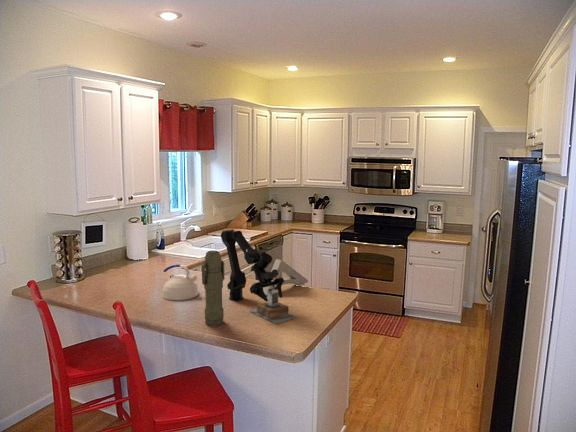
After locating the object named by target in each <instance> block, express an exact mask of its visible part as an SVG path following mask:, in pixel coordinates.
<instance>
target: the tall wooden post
mask: <svg viewBox="0 0 576 432" xmlns="http://www.w3.org/2000/svg"><path fill="white" fill-rule="evenodd" d="M266 297H267V300H268V301H267V302H266V303H267V305H268V307H269V308H271V309H274V308H277V307H278V302H279V295H278V289H275V288H272V289H268V290H267V296H266Z"/></svg>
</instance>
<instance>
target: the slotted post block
mask: <svg viewBox="0 0 576 432" xmlns="http://www.w3.org/2000/svg"><path fill="white" fill-rule="evenodd" d="M289 309H290V308H289V306H288V305H286V304H283V303H280V302H279V301H278V307H277V308H274V309H271V308H269V307H268V305H267V302H266V303H265V302H264V303H261V304H257V307H256V308H254V309H251V310H249V313H250V314H253V315H255V316H257V317H260V318H261V319H264V320H265V321H268V322H270V323H272V324H274V325H279V324H282V323H285V322H289V321H292V320H295V319H297V318H298V316H296V315H294V314H291V313H289Z"/></svg>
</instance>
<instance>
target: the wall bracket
mask: <svg viewBox="0 0 576 432" xmlns="http://www.w3.org/2000/svg"><path fill="white" fill-rule="evenodd" d="M275 269H276V270H277V271H278V275H277V277H274V278H273V280H272V282H273V281H274V280H275V279H276V278H280V277H281V275H282V273H284V274H285V275H287V276H288V277H282V278H283V279H284V282H283V284H282V285H281V287H282V286H284V285H288V284H293V285H295V286H302V285H305V284H308V282H309V280H308V279H307V278H306V277H305V276H303V275H302V274H300V273H299V272H298V271H297V270H296V269H294V268H293V267H292V266H290V265H289V264H287V263H286V262H285V261H284V260H282V259H279V258H276V259H275V261H274V263H273V266H272V268H271V271H270V272H272V270H275ZM272 288H274V287H273V286H268V287H264V288H263V291H264V293H265V295H266V297H267V290H268V289H272Z"/></svg>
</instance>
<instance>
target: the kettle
mask: <svg viewBox="0 0 576 432" xmlns="http://www.w3.org/2000/svg"><path fill="white" fill-rule="evenodd" d="M173 268H182V269H184V270H185V272H186V275H185V274H176V275H170V276H169V279H167V280H166V282H165V283H164V286H163V289H162V298H164V299H165V300H168V301H169V300H170V301H186V299H187V300H190V298H191V299H194V298H196V297H198V295H199V289H198V284H197V282H196V281H197V280H198V276H197V274H192V275H191V274H190V273H191V271H190V270H189V268H188V267H187V266H186V265H184V264H173V265H170V266H167V267H166V268H164V270H163V271H162V272H163V273H165V272H168V271H169V270H170V269H173ZM193 297H194V298H193Z"/></svg>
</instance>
